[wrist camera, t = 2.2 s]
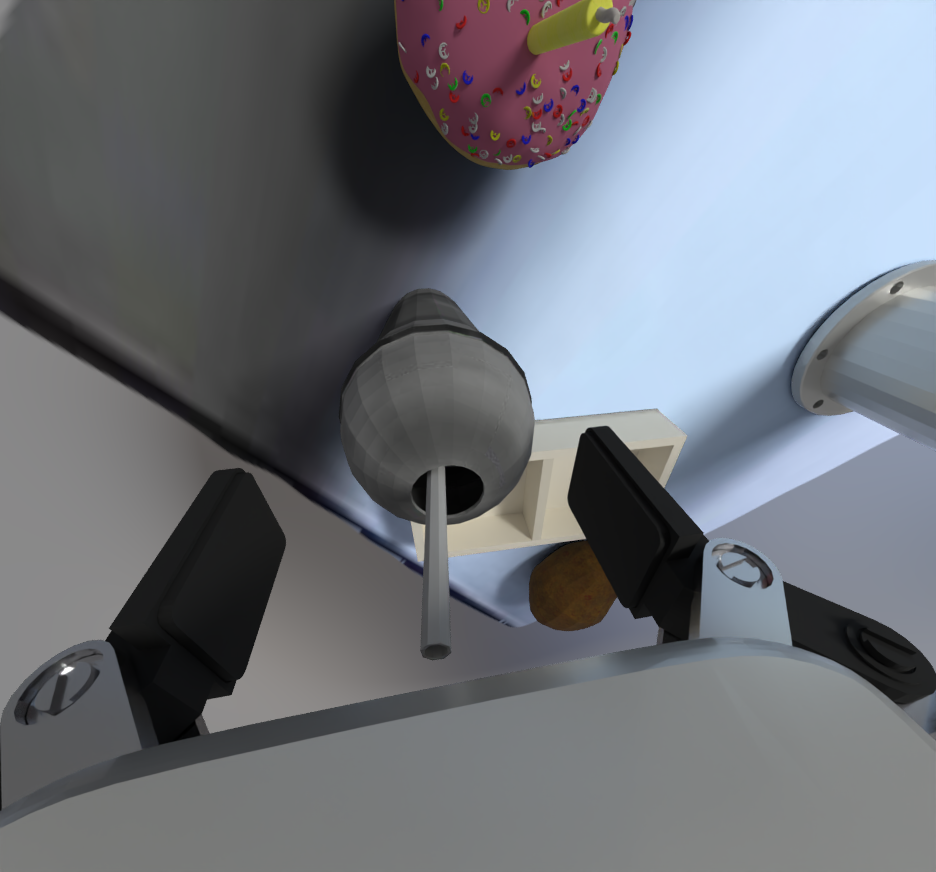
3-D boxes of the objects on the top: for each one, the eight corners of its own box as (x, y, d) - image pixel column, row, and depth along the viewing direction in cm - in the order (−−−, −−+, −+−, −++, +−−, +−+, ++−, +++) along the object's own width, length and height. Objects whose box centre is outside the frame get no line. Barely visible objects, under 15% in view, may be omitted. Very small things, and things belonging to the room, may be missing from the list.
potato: (621, 533, 39) (661, 598, 33) (555, 591, 45) (578, 655, 38) (569, 516, 36) (603, 584, 30) (505, 580, 41) (522, 649, 35)
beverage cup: (411, 393, 25) (414, 758, 9) (344, 304, 21) (120, 689, 5) (499, 342, 24) (691, 665, 8) (446, 237, 19) (617, 453, 3)
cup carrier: (656, 408, 29) (687, 435, 26) (624, 500, 36) (645, 530, 32) (401, 433, 27) (400, 466, 24) (417, 525, 33) (418, 561, 30)
